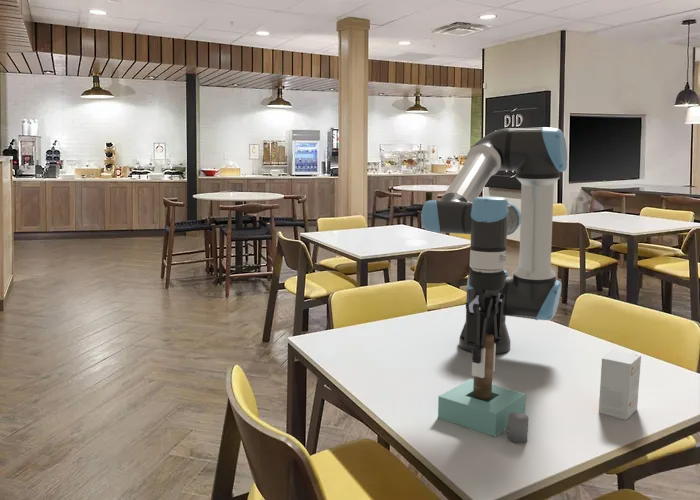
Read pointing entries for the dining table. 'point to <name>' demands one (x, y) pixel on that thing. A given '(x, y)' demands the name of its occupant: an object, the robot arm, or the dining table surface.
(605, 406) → the small box
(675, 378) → the dining table surface
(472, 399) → the hole block
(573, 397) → the dining table surface
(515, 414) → the charcoal dowel
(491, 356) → the walnut dowel
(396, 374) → the dining table surface
